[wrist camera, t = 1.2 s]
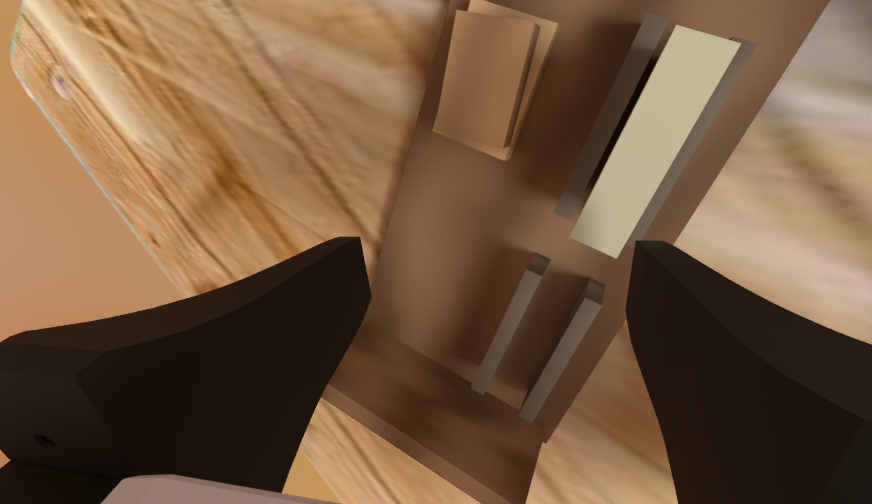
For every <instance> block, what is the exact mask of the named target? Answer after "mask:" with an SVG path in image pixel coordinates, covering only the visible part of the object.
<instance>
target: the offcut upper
mask: <svg viewBox="0 0 872 504" xmlns="http://www.w3.org/2000/svg"><path fill="white" fill-rule="evenodd" d="M540 28H541V27H540V26H539V25H538V24H536V23H535V22H531V21H524V20H518V19H512V18H506V17H499V16H493V15H487V14H480V13H474V12H468V11H462V10H456V16H455V21H454V27H453V32H452V38H451V43H450V49H449V54H448V60H447V65H446V71H445V76H444V82H443V87H442V93H441V98H440V104H439V109H438V115H437V120H436V126H435V131H439V132H443V133H446V134H450V135H454V136H458V137H461V138H465V139H469V140H473V141H477V142H480V143H484V144H488V145H492V146H496V147H499V148H506V147H509V146H510V144H511V140H512V136H513V132H514V128H515V125H516V121H517V117H518V113H519V109H520V105H521V101H522V97H523V94H524V90H525V86H526V82H527V78H528V74H529V70H530V67H531V63H532V59H533V55H534V51H535V47H536V43H537V40H538V36H539V32H540Z"/></svg>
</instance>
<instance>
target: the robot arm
mask: <svg viewBox="0 0 872 504" xmlns="http://www.w3.org/2000/svg"><path fill="white" fill-rule="evenodd" d="M371 298H372V296H371V291H370V286H369V281H368V276H367V271H366V265H365V260H364V255H363V250H362V245H361V240H360V237H337V238H334V239H331V240H328V241H326V242H324V243H321V244H319V245H317V246H315V247H312V248H310V249H308V250H306V251H304V252H302V253H300V254H298V255H295V256H293V257H291V258H289V259H287V260H285V261H283V262H281V263H279V264H276V265H274V266H272V267H269V268H267V269H265V270H263V271H260V272H258V273H256V274H254V275H251V276H249V277H247V278H244V279H242V280H239V281H237V282H234V283H232V284H229V285H226V286H223V287H221V288H218V289H215V290H212V291H209V292H206V293H203V294H200V295H197V296H194V297H190V298H187V299H183V300H180V301H176V302H173V303H169V304H166V305H162V306H159V307H155V308H151V309H146V310H142V311H138V312H134V313H129V314H125V315H120V316H115V317H110V318H105V319H100V320H95V321H89V322H83V323H77V324H70V325H64V326H57V327H51V328H45V329H38V330H30V331H25V332H22V333H18V334H16V335H13V336H10V337H9V338H7V339H5V340H3V341H2V342H0V450H1V451H2V452H3V453H4V454H5V455H6V456H7V458H8V459H11V460H10V461H9V462H8V463H7V464H5V465H4V466H3V467H2V468H1V469H0V504H340V503H334V502H329V501H323V500H317V499H311V498H305V497H299V496H294V495H288V494H282V490H283V488H284V485H285V482H286V479H287V477H288V474H289V471H290V468H291V466H292V463H293V461H294V458H295V456H296V453H297V451H298V448H299V446H300V443H301V441H302V438H303V436H304V434H305V431H306V429H307V427H308V424H309V422H310V420H311V417H312V415H313V413H314V411H315V408H316V406H317V404H318V402H319V400H320V398H321V396H322V394H323V392H324V390H325V388H326V386H327V385H328V383H329V381H330V379H331V378H332V376H333V374H334V372H335V371H336V369H337V367H338V365H339V364H340V362H341V360H342V359H343V357H344V355H345V353H346V352H347V350H348V348H349V346H350V345H351V343H352V341H353V339H354V337H355V336H356V334H357V332H358V330H359V328H360V326H361V324H362V322H363V319H364V317H365V314H366V312H367V309H368V306H369V303H370V301H371ZM625 311H626V317H627V323H628V328H629V333H630V338H631V343H632V346H633V349H634V352H635V355H636V358H637V361H638V364H639V367H640V370H641V373H642V376H643V379H644V381H645V384H646V387H647V390H648V393H649V396H650V399H651V401H652V404H653V407H654V410H655V413H656V416H657V419H658V421H659V425H660V428H661V431H662V435H663V438H664V442H665V446H666V450H667V455H668V459H669V463H670V468H671V472H672V477H673V481H674V485H675V490H676V495H677V500H678V504H872V345H871V344H868V343H865V342H863V341H860V340H857V339H854V338H852V337H849V336H847V335H844V334H842V333H839V332H837V331H834V330H832V329H829V328H827V327H824V326H822V325H820V324H818V323H815V322H813V321H811V320H809V319H806V318H804V317H802V316H800V315H797V314H795V313H793V312H791V311H788V310H786V309H784V308H782V307H780V306H778V305H776V304H774V303H772V302H770V301H768V300H766V299H764V298H762V297H761V296H759V295H757V294H755V293H753V292H751V291H749V290H747V289H745V288H744V287H742V286H740V285H738V284H736V283H735V282H733V281H731V280H729V279H728V278H726V277H724V276H723V275H721V274H719V273H718V272H716V271H714V270H713V269H711V268H709V267H708V266H706V265H704V264H703V263H701V262H699V261H698V260H696V259H695V258H693V257H691V256H690V255H688V254H687V253H685V252H683V251H682V250H680V249H678V248H677V247H675V246H673V245H671V244H669V243H667V242H665V241H647V240H636V241H635V248H634V255H633V261H632V268H631V274H630V281H629V288H628V294H627V301H626V308H625Z"/></svg>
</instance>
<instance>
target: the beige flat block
mask: <svg viewBox="0 0 872 504" xmlns="http://www.w3.org/2000/svg"><path fill="white" fill-rule="evenodd" d="M740 45H741V43H738V42H735V41H731V40H728V39H724V38H721V37H717V36H714V35H710V34H707V33H703V32H700V31H696V30H693V29H689V28H686V27H682V26H679V25H676V27H675V29H674V30H673V32H672V34H671V36H670V38H669V40H668V42H667V43H666V45H665V47H664V49H663V51H662V53H661V55H660V57H659V58H658V60H657V62H656V64H655V66H654V68H653V70H652V72H651V74H650V76H649V78H648V80H647V82H646V84H645V86H644V88H643V90H642V92H641V94H640V96H639V98H638V100H637V102H636V104H635V106H634V108H633V110H632V112H631V114H630V116H629V118H628V120H627V122H626V124H625V126H624V128H623V130H622V132H621V134H620V136H619V138H618V140H617V142H616V144H615V146H614V148H613V150H612V152H611V154H610V156H609V158H608V160H607V162H606V164H605V166H604V168H603V170H602V172H601V174H600V175H599V177H598V179H597V181H596V183H595V185H594V187H593V189H592V191H591V193H590V195H589V198H588V200H587V202H586V204H585V206H584V208H583V210H582V212H581V214H580V216H579V218H578V220H577V222H576V224H575V226H574V228H573V230H572V232H571V235H570V238H572V239H574V240H576V241H579V242H581V243H583V244H585V245H588V246H590V247H592V248H594V249H596V250H599V251H601V252H603V253H605V254H608V255H610V256H612V257H614V258H617V257H618V255H619V254H620V252H621V250H622V249H623V247H624V245H625V243H626V242H627V240H628V238H629V236H630V235H631V233H632V231H633V230H634V228H635V226H636V224H637V223H638V221H639V219H640V217H641V216H642V214H643V212H644V211H645V209H646V207H647V205H648V204H649V202H650V200H651V198H652V197H653V195H654V193H655V192H656V190H657V188H658V186H659V185H660V183H661V181H662V180H663V178H664V176H665V174H666V173H667V171H668V169H669V167H670V166H671V164H672V162H673V161H674V159H675V157H676V155H677V154H678V152H679V150H680V148H681V147H682V145H683V143H684V142H685V140H686V138H687V136H688V135H689V133H690V131H691V129H692V128H693V126H694V124H695V123H696V121H697V119H698V117H699V116H700V114H701V112H702V111H703V109H704V107H705V105H706V104H707V102H708V100H709V98H710V97H711V95H712V93H713V92H714V90H715V88H716V86H717V85H718V83H719V81H720V79H721V78H722V76H723V74H724V73H725V71H726V69H727V67H728V66H729V64H730V62H731V60H732V59H733V57H734V55H735V54H736V52H737V50H738V48H739V47H740Z"/></svg>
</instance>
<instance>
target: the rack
mask: <svg viewBox="0 0 872 504" xmlns="http://www.w3.org/2000/svg"><path fill="white" fill-rule="evenodd" d="M470 1H471V0H450V4H449V7H448V11H447V14H446V18H445V22H444V25H443V29H442V33H441V36H440V40H439V43H438V47H437V51H436V54H435V58H434V62H433V65H432V69H431V72H430V76H429V80H428V83H427V87H426V91H425V94H424V98H423V101H422V105H421V109H420V112H419V116H418V120H417V123H416V127H415V130H414V134H413V138H412V141H411V145H410V148H409V152H408V156H407V159H406V163H405V167H404V170H403V174H402V177H401V181H400V185H399V188H398V192H397V196H396V199H395V203H394V206H393V210H392V214H391V217H390V221H389V225H388V228H387V232H386V235H385V239H384V243H383V246H382V250H381V254H380V257H379V261H378V264H377V268H376V272H375V275H374V279H373V282H372V286H371V290H370V291H371V296H372V298H371V301H370V303H369V306H368V309H367V312H366V314H365V317H364V319H363V322H362V324H361V326H360V330H359V331H358V332H357V334H356V336H355V337H354V339H353V341H352V343H351V345H350V346H349V348H348V350H347V352H346V353H345V355H344V357H343V359H342V360H341V362H340V364H339V365H338V367H337V369H336V371H335V372H334V374H333V376H332V378H331V379H330V381H329V383H328V385H327V386H326V388H325V390H324V392H323V394H322V396H321V397H322V398H323V399H325V400H326V401H328V402H329V403H331V404H332V405H334V406H335V407H337V408H338V409H340V410H341V411H343V412H344V413H346V414H347V415H349V416H350V417H352V418H353V419H355V420H356V421H358V422H359V423H361V424H362V425H364V426H365V427H367V428H368V429H370V430H371V431H373V432H374V433H376V434H377V435H379V436H380V437H382V438H383V439H385V440H386V441H388V442H390V443H391V444H393V445H394V446H396V447H397V448H399V449H400V450H402V451H403V452H405V453H406V454H408V455H409V456H411V457H412V458H414V459H415V460H417V461H418V462H420V463H421V464H423V465H424V466H426V467H427V468H429V469H430V470H432V471H433V472H435V473H436V474H438V475H439V476H441V477H442V478H444V479H445V480H447V481H448V482H450V483H451V484H453V485H454V486H456V487H457V488H459V489H460V490H462V491H463V492H465V493H466V494H468V495H469V496H471V497H472V498H474V499H475V500H477V501H478V502H480V503H481V504H525V503H526V499H527V495H528V492H529V488H530V484H531V481H532V477H533V473H534V470H535V466H536V462H537V459H538V455H539V451H540V448H541V444H542V442H544V443H545V444H546V443H547V441H548V440H549V438H550V437H551V435H552V433H553V432H554V430H555V429H556V427H557V426H558V424H559V422H560V421H561V419H562V418H563V416H564V415H565V413H566V412H567V410H568V408H569V407H570V405H571V404H572V402H573V401H574V399H575V397H576V396H577V394H578V393H579V391H580V390H581V388H582V387H583V385H584V383H585V382H586V380H587V379H588V377H589V376H590V374H591V373H592V371H593V369H594V368H595V366H596V365H597V363H598V362H599V360H600V358H601V357H602V355H603V354H604V352H605V351H606V349H607V348H608V346H609V344H610V343H611V341H612V340H613V338H614V337H615V335H616V334H617V332H618V330H619V329H620V327H621V326H622V324H623V323H624V321H625V319H626V318H627V317H626V311H625V308H626V301H627V294H628V288H629V281H630V274H631V268H632V261H633V255H634V248H635V241H636V240H647V241H665V242H667V243H669V244H671V245H674V243H675V241H676V240H677V238H678V237H679V235H680V234H681V232H682V231H683V229H684V227H685V226H686V224H687V223H688V221H689V220H690V218H691V216H692V215H693V213H694V212H695V210H696V209H697V207H698V206H699V204H700V202H701V201H702V199H703V198H704V196H705V195H706V193H707V191H708V190H709V188H710V187H711V185H712V184H713V182H714V181H715V179H716V177H717V176H718V174H719V173H720V171H721V170H722V168H723V167H724V165H725V163H726V162H727V160H728V159H729V157H730V156H731V154H732V152H733V151H734V149H735V148H736V146H737V145H738V143H739V142H740V140H741V138H742V137H743V135H744V134H745V132H746V131H747V129H748V127H749V126H750V124H751V123H752V121H753V120H754V118H755V117H756V115H757V113H758V112H759V110H760V109H761V107H762V106H763V104H764V103H765V101H766V99H767V98H768V96H769V95H770V93H771V92H772V90H773V88H774V87H775V85H776V84H777V82H778V81H779V79H780V78H781V76H782V74H783V73H784V71H785V70H786V68H787V67H788V65H789V64H790V62H791V60H792V59H793V57H794V56H795V54H796V53H797V51H798V49H799V48H800V46H801V45H802V43H803V42H804V40H805V39H806V37H807V35H808V34H809V32H810V31H811V29H812V28H813V26H814V24H815V23H816V21H817V20H818V18H819V17H820V15H821V14H822V12H823V10H824V9H825V7H826V6H827V4H828V3H829V1H830V0H484V1H487V2H490V3H494V4H497V5H500V6H503V7H507V8H510V9H513V10H516V11H520V12H523V13H526V14H529V15H533V16H536V17H539V18H542V19H546V20H549V21H552V22H555V23H558V24H559V25H560V26H561V27H562V29H561V32H560V34H559V37H558V39H557V42H556V45H555V47H554V50H553V52H552V55H551V57H550V60H549V62H548V65H547V67H546V70H545V73H544V75H543V78H542V80H541V83H540V85H539V88H538V90H537V93H536V95H535V98H534V100H533V103H532V106H531V108H530V111H529V113H528V116H527V118H526V121H525V123H524V126H523V128H522V131H521V133H520V136H519V139H518V141H517V144H516V146H515V149H514V151H513V154H512V156H511V158H510V159H507V160H505V161H504V160H501V159H499V158H496V157H494V156H491V155H489V154H487V153H484V152H482V151H479V150H477V149H475V148H472V147H470V146H467V145H465V144H463V143H460V142H458V141H455V140H453V139H451V138H448V137H446V136H443V135H441V134H439V133H436V132H434V131H432V130H433V126H434V123H435V120H436V116H437V113H438V109H439V104H440V98H441V93H442V87H443V82H444V76H445V71H446V65H447V60H448V54H449V49H450V43H451V38H452V32H453V27H454V21H455V16H456V10H462V11H468V8H469V5H470ZM676 25H679V26H682V27H686V28H689V29H693V30H696V31H700V32H703V33H707V34H710V35H714V36H717V37H721V38H724V39H728V40H731V41H735V42H738V43H741V45H740V47H739V48H738V50H737V52H736V54H735V55H734V57H733V59H732V60H731V62H730V64H729V66H728V67H727V69H726V71H725V73H724V74H723V76H722V78H721V79H720V81H719V83H718V85H717V86H716V88H715V90H714V92H713V93H712V95H711V97H710V98H709V100H708V102H707V104H706V105H705V107H704V109H703V111H702V112H701V114H700V116H699V117H698V119H697V121H696V123H695V124H694V126H693V128H692V129H691V131H690V133H689V135H688V136H687V138H686V140H685V142H684V143H683V145H682V147H681V148H680V150H679V152H678V154H677V155H676V157H675V159H674V161H673V162H672V164H671V166H670V167H669V169H668V171H667V173H666V174H665V176H664V178H663V180H662V181H661V183H660V185H659V186H658V188H657V190H656V192H655V193H654V195H653V197H652V198H651V200H650V202H649V204H648V205H647V207H646V209H645V211H644V212H643V214H642V216H641V217H640V219H639V221H638V223H637V224H636V226H635V228H634V230H633V231H632V233H631V235H630V236H629V238H628V240H627V242H626V243H625V245H624V247H623V249H622V250H621V252H620V254H619V255H618V257H617V258H614V257H612V256H610V255H608V254H605V253H603V252H601V251H599V250H596V249H594V248H592V247H590V246H588V245H585V244H583V243H581V242H579V241H576V240H574V239H572V238H570V235H571V232H572V230H573V228H574V226H575V224H576V222H577V220H578V218H579V216H580V214H581V212H582V210H583V208H584V206H585V204H586V202H587V200H588V198H589V195H590V193H591V191H592V189H593V187H594V185H595V183H596V181H597V179H598V177H599V175H600V174H601V172H602V170H603V168H604V166H605V164H606V162H607V160H608V158H609V156H610V154H611V152H612V150H613V148H614V146H615V144H616V142H617V140H618V138H619V136H620V134H621V132H622V130H623V128H624V126H625V124H626V122H627V120H628V118H629V116H630V114H631V112H632V110H633V108H634V106H635V104H636V102H637V100H638V98H639V96H640V94H641V92H642V90H643V88H644V86H645V84H646V82H647V80H648V78H649V76H650V74H651V72H652V70H653V68H654V66H655V64H656V62H657V60H658V58H659V57H660V55H661V53H662V51H663V49H664V47H665V45H666V43H667V42H668V40H669V38H670V36H671V34H672V32H673V30H674V29H675V27H676Z"/></svg>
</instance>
